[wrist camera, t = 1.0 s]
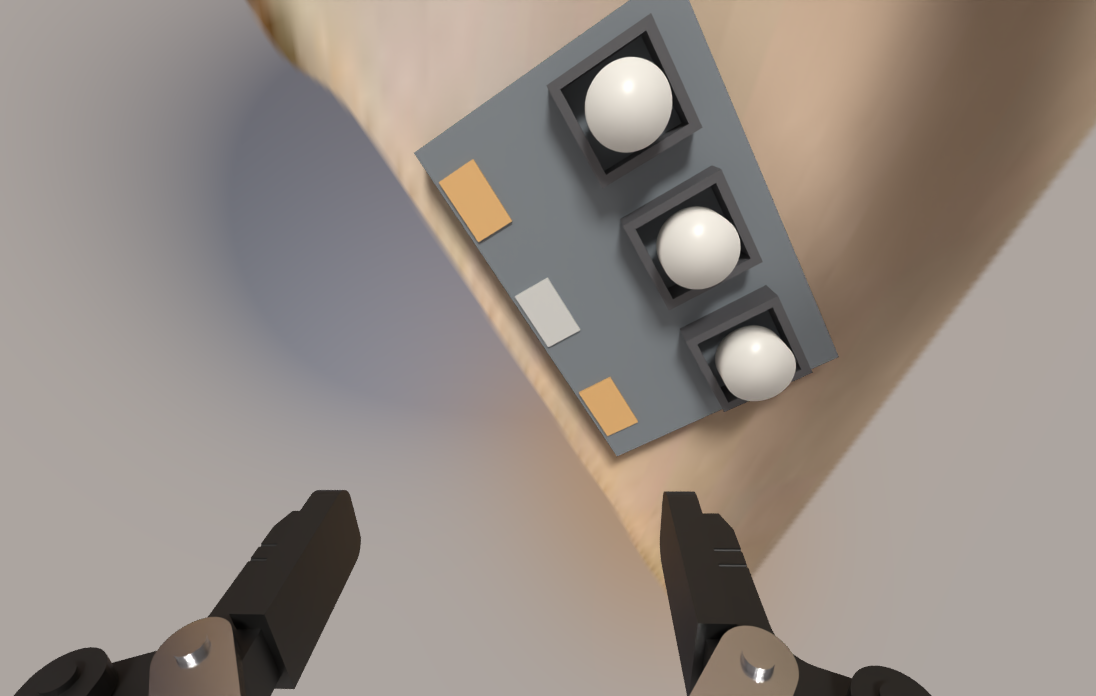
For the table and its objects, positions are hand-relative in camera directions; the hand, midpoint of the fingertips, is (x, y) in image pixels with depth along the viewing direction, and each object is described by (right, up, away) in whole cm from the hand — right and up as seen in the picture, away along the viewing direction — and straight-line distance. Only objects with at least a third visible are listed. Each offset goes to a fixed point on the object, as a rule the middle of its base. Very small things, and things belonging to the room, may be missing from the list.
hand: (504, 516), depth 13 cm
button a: (+5, +16, +12) cm, 21 cm away
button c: (+13, +4, +18) cm, 23 cm away
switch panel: (+7, +10, +19) cm, 23 cm away
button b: (+9, +10, +15) cm, 20 cm away
